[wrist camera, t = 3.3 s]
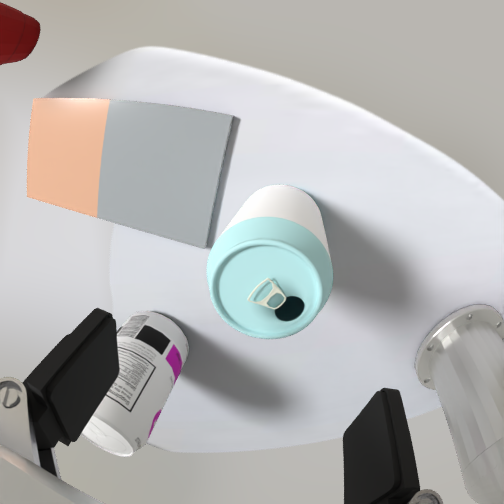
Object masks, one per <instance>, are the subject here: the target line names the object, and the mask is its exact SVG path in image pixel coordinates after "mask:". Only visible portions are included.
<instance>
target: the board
mask: <svg viewBox="0 0 504 504" xmlns="http://www.w3.org/2000/svg"><path fill="white" fill-rule="evenodd" d="M233 117H234V116H233V115H228V114H222V113H217V112H211V111H206V110H200V109H193V108H187V107H180V106H172V105H165V104H156V103H147V102H137V101H125V100H111V99H90V98H36V99H33V106H32V113H31V122H30V131H29V143H28V160H27V197H29V198H33V199H36V200H39V201H42V202H46V203H49V204H53V205H56V206H59V207H62V208H66V209H69V210H73V211H76V212H79V213H82V214H86V215H89V216H93V217H96V218H99V219H103V220H106V221H110V222H113V223H116V224H120V225H123V226H127V227H130V228H133V229H137V230H140V231H144V232H147V233H151V234H154V235H157V236H161V237H164V238H168V239H171V240H175V241H178V242H182V243H185V244H189V245H192V246H196V247H199V248H203V249H205V248H206V247H207V241H208V236H209V230H210V225H211V220H212V215H213V210H214V205H215V200H216V195H217V190H218V185H219V180H220V175H221V171H222V166H223V161H224V157H225V152H226V148H227V143H228V139H229V134H230V130H231V126H232V121H233Z"/></svg>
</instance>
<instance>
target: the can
mask: <svg viewBox="0 0 504 504" xmlns="http://www.w3.org/2000/svg"><path fill="white" fill-rule="evenodd" d="M207 281H208V286H209V289H210V296H211V299H212V302H213V305H214V307H215V309H216V311H217V312H218V314H219V315H220V316H221V317H222V319H223V320H224V321H225V322H226V323H228V324H229V325H230V326H231V327H233V328H234V329H236V330H237V331H239V332H241V333H243V334H246V335H248V336H251V337H255V338H261V339H278V338H284V337H288V336H291V335H293V334H296V333H298V332H299V331H301V330H303V329H304V328H305V327H307V326H308V325H309V324H310V323H311V322H312V321H313V320H314V318H315V317H316V315H317V314H318V313H319V312H320V310H321V309H322V308H323V307H324V305H325V303H326V302H327V300H328V298H329V295H330V293H331V289H332V285H333V267H332V262H331V257H330V253H329V248H328V243H327V239H326V234H325V229H324V225H323V221H322V216H321V213H320V210H319V208H318V206H317V204H316V203H315V202H314V200H313V199H312V198H311V197H310V196H309V195H308V194H306V193H305V192H304V191H302V190H300V189H298V188H296V187H293V186H289V185H280V184H279V185H271V186H267V187H264V188H262V189H260V190H258V191H256V192H255V193H254V194H252V195H251V196H250V197H249V198H248V200H247V201H246V202H245V203H244V205H243V206H242V207H241V209H240V210H239V211H238V213H237V214H236V215H235V217H234V218H233V219H232V221H231V222H230V223H229V225H228V226H227V227H226V229H225V230H224V231H223V233H222V234H221V235H220V237H219V238H218V239H217V241H216V242H215V244H214V245H213V247H212V249H211V251H210V254H209V257H208V262H207Z"/></svg>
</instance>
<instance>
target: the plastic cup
mask: <svg viewBox="0 0 504 504" xmlns="http://www.w3.org/2000/svg"><path fill="white" fill-rule="evenodd" d="M39 34H40V24H39V22H38V21H37V20H35V19H34V18H32V17H30V16H28V15H26V14H23V13H22V12H21V11H19V10H17V9H15V8H12V7H10V6H7V5H5V4H3V3H0V65H2V64H6V63H12V62H17V61H21V60H23V59H25V58H26V57H27V56H28V55H29V54H30V53H31V52H32V51H33V49H34V47H35V46H36V44H37V41H38V38H39Z"/></svg>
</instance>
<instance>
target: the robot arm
mask: <svg viewBox="0 0 504 504" xmlns="http://www.w3.org/2000/svg"><path fill="white" fill-rule="evenodd" d="M503 339H504V321H503V319H502V317H501V315H500V314H499V313H498V312H497V311H496V310H495V309H494V308H492V307H491V306H488V305H480V304H477V305H472V306H468V307H465V308H462V309H460V310H458V311H456V312H454V313H452V314H451V315H449V316H448V317H446V318H445V319H444V320H442V321H441V322H440V323H439V324H438V325H437V326H436V327H434V329H433V330H432V331H431V332H430V333H429V334H428V335H427V337H426V338H425V340H424V341H423V343H422V344H421V346H420V348H419V350H418V353H417V356H416V360H415V369H416V374H417V376H418V379H419V381H420V382H421V384H422V385H424V386H425V387H427V388H430V389H433V390H436V391H437V394H438V396H439V399H440V402H441V405H442V408H443V411H444V414H445V416H446V420H447V423H448V426H449V429H450V433H451V435H452V439H453V442H454V446H455V449H456V453H457V457H458V460H459V464H460V468H461V472H462V476H463V480H464V484H465V488H466V490H467V492H468V494H469V496H470V497H471V498H472V499H473V500H474V501H475V502H477V503H479V504H504V342H503ZM119 371H120V367H119V357H118V346H117V332H116V321H115V319H113V317H112V314H111V313H108V312H106V311H104V310H101V309H99V308H96V309H94V310H93V311H92V312H91V313H90V314H89V315H88V316H87V317H86V318H85V319H84V320H83V321H82V322H81V323H80V324H79V325H78V326H77V328H75V330H74V331H73V332H72V333H71V334H69V335H66V336H65V337H64V338H63V339H62V340H61V341H60V342H59V343H58V344H57V346H55V348H54V349H53V350H52V351H51V352H50V353H49V354H48V355H47V356H46V357H45V358H44V359H43V360H42V361H41V363H40V364H39V365H38V366H37V367H36V368H35V369H34V370H33V371H32V373H31V374H30V375H29V376H28V377H27V378H26V379H25V381H24V382H23V383H22V382H20V381H19V380H18V379H16V378H12V377H4V378H1V379H0V504H105V503H103V502H101V501H99V500H97V499H95V498H93V497H91V496H89V495H87V494H86V493H84V492H82V491H80V490H78V489H76V488H74V487H73V486H71V485H69V484H67V483H66V482H64V481H62V480H61V476H60V472H59V468H58V464H57V459H56V455H55V450H54V447H55V445H56V444H57V442H58V441H60V442H62V443H64V444H65V445H67V446H69V444H70V442H71V441H72V442H75V441H76V440H77V439H78V437H79V436H80V434H81V433H82V431H83V430H84V428H85V426H86V425H87V423H88V422H89V420H90V419H91V417H92V415H93V414H94V412H95V411H96V409H97V408H98V406H99V405H100V403H101V402H102V400H103V399H104V397H105V396H106V394H107V392H108V391H109V389H110V388H111V386H112V385H113V383H114V382H115V380H116V379H117V377H118V375H119ZM343 454H344V504H443V501H442V499H441V497H440V495H439V494H438V493H436V492H435V491H433V490H428V489H424V490H421V491H420V485H419V478H418V473H417V467H416V461H415V456H414V451H413V446H412V441H411V436H410V432H409V428H408V424H407V419H406V415H405V411H404V407H403V403H402V399H401V395H400V392H399V390H396V389H388V388H383V389H381V390H380V391H377V392H376V393H375V394H374V396H373V397H372V398H371V400H370V401H369V402H368V404H367V405H366V406H365V407H364V409H363V410H362V411H361V413H360V414H359V415H358V416H357V417H356V419H355V420H354V421H353V422H352V424H351V425H350V426H349V427H348V428H347V430H346V431H345V433H344V435H343Z"/></svg>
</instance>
